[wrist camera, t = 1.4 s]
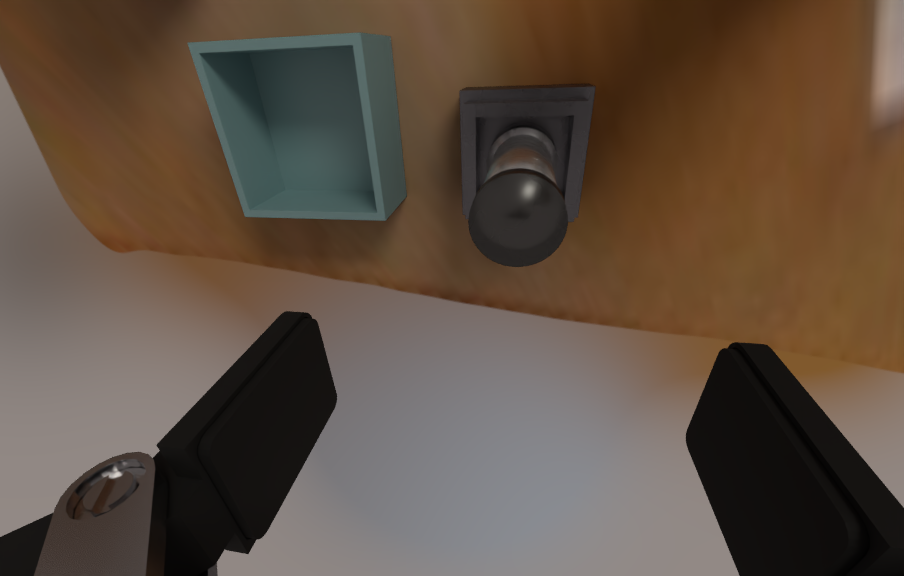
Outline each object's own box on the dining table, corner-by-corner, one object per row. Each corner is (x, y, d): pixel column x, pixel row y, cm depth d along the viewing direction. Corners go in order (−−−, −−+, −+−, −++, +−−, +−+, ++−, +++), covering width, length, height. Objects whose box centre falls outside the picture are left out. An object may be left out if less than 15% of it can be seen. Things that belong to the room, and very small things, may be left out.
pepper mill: (559, 121, 27) (579, 169, 16) (552, 190, 29) (566, 272, 18) (489, 122, 27) (462, 169, 16) (488, 189, 30) (465, 268, 19)
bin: (390, 36, 28) (360, 32, 23) (406, 196, 34) (385, 220, 29) (244, 44, 30) (187, 42, 25) (284, 194, 36) (245, 216, 31)
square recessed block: (589, 83, 28) (601, 89, 23) (574, 204, 32) (581, 229, 28) (465, 87, 29) (453, 94, 25) (467, 202, 34) (457, 226, 29)
